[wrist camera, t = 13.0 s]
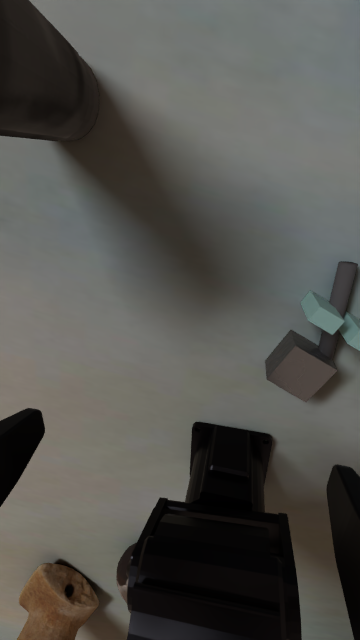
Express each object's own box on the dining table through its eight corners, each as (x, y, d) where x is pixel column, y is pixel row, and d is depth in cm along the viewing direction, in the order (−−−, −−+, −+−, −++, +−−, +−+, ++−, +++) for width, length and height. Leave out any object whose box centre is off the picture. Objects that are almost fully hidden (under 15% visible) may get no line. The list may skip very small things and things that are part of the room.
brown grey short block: (300, 381, 22) (306, 402, 19) (265, 360, 22) (266, 379, 19) (328, 351, 20) (337, 370, 18) (290, 329, 20) (295, 345, 18)
